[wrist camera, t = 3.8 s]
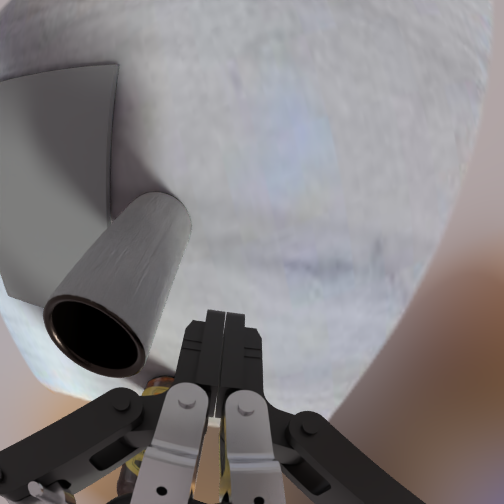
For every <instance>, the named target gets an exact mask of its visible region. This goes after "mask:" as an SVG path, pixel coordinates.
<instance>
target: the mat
mask: <svg viewBox="0 0 504 504" xmlns="http://www.w3.org/2000/svg"><path fill="white" fill-rule="evenodd" d="M118 69H119V65H116V64H111V65H96V66H85V67H76V68H67V69H60V70H54V71H47V72H42V73H36V74H31V75H26V76H22V77H17V78H13V79H9V80H5V81H1V82H0V273H1V276H2V280H3V283H4V286H5V288H6V291H7V294H8V296H10V297H13V298H16V299H19V300H22V301H24V302H27V303H30V304H33V305H36V306H39V307H43V308H44V306H45V304H46V302H47V301H48V299H49V298H50V296H51V295H52V294H53V292H54V291H55V290H56V288H57V287H58V286H59V285H60V283H61V282H62V281H63V279H64V278H65V277H66V276H67V274H68V273H69V272H70V271H71V269H72V268H73V267H74V266H75V265H76V263H77V262H78V261H79V260H80V258H81V257H82V256H83V255H84V254H85V253H86V251H87V250H88V249H89V248H90V247H91V246H92V244H93V243H94V242H95V241H96V240H97V239H98V238H99V237H100V235H101V234H102V233H103V232H104V231H105V230H106V229H107V228H108V227H109V226H110V224H111V218H110V154H111V135H112V121H113V110H114V100H115V91H116V83H117V76H118Z"/></svg>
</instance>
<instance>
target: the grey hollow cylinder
mask: <svg viewBox="0 0 504 504" xmlns="http://www.w3.org/2000/svg"><path fill="white" fill-rule="evenodd" d="M191 229H192V225H191V219H190V216H189V214H188V212H187V210H186V208H185V207H184V206H183V205H182V203H181V202H180V201H178V200H177V199H176V198H174V197H172V196H171V195H168V194H165V193H161V192H149V193H145V194H143V195H141V196H139V197H138V198H136V199H135V200H134V201H133V202H132V203H130V205H129V206H128V207H127V208H126V209H125V210H124V211H123V212H122V213H121V214H120V215H119V216H118V217H117V218H116V219H115V220H114V221H113V222H112V223H111V224H110V226H109V227H108V228H107V229H106V230H105V231H104V232H103V233H102V234H101V235H100V237H99V238H98V239H97V240H96V241H95V242H94V243H93V244H92V246H91V247H90V248H89V249H88V250H87V251H86V253H85V254H84V255H83V256H82V257H81V258H80V260H79V261H78V262H77V263H76V265H75V266H74V267H73V268H72V269H71V271H70V272H69V273H68V274H67V276H66V277H65V278H64V279H63V281H62V282H61V283H60V285H59V286H58V287H57V288H56V290H55V291H54V292H53V294H52V295H51V296H50V298H49V299H48V301H47V302H46V304H45V306H44V311H43V319H44V324H45V327H46V330H47V332H48V334H49V336H50V337H51V339H52V341H53V342H54V343H55V345H56V346H57V347H58V348H59V349H60V350H61V351H62V352H63V353H64V354H65V355H66V356H67V357H68V358H70V359H71V360H72V361H74V362H75V363H76V364H78V365H80V366H81V367H83V368H85V369H87V370H89V371H91V372H94V373H96V374H99V375H103V376H107V377H114V378H124V377H129V376H132V375H135V374H137V373H138V372H140V371H141V370H142V369H143V367H144V366H145V363H146V360H147V357H148V354H149V351H150V348H151V345H152V342H153V339H154V336H155V333H156V330H157V327H158V324H159V321H160V318H161V315H162V312H163V309H164V306H165V304H166V301H167V298H168V295H169V292H170V289H171V287H172V284H173V281H174V279H175V276H176V273H177V270H178V268H179V265H180V262H181V260H182V257H183V255H184V252H185V249H186V247H187V244H188V242H189V239H190V235H191Z"/></svg>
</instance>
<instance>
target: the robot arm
mask: <svg viewBox="0 0 504 504" xmlns="http://www.w3.org/2000/svg"><path fill="white" fill-rule="evenodd" d="M224 322H225V327H224ZM223 331H224V334H223ZM216 397H217V402H216ZM215 403H216V413H215V417H216V418H221V422H220V432H219V466H220V483H219V500H220V503H218V504H286V501H285V494H284V487H283V479H282V472H283V473H284V474H285V475H286V476H287V477H288V478H289V479H290V480H291V481H292V482H293V483H294V484H295V485H296V486H297V487H298V488H299V489H300V490H301V491H302V492H303V493H304V494H305V495H306V496H307V497H308V498H309V499H310V500H312V501H313V502H314V503H315V504H426V503H424V502H423V501H422V500H420V499H419V498H418V497H416V496H415V495H414V494H412V493H411V492H410V491H409V490H407V489H406V488H405V487H404V486H402V485H401V484H400V483H398V482H397V481H396V480H395V479H393V478H392V477H391V476H390V475H389V474H387V473H386V472H385V471H384V470H382V469H381V468H380V467H379V466H378V465H376V464H375V463H374V462H373V461H372V460H371V459H369V458H368V457H367V456H366V455H365V454H364V453H362V452H361V451H360V450H359V449H358V448H357V447H355V446H354V445H353V444H352V443H351V442H350V441H349V440H348V439H346V438H345V437H344V436H343V435H342V434H341V433H340V432H339V431H338V430H336V429H335V428H334V427H333V426H332V425H331V424H330V423H329V422H328V421H327V420H326V419H325V418H324V417H322V416H321V415H320V414H318V413H315V412H312V411H303V412H300V413H297V414H296V415H293V414H290V413H287V412H284V411H281V410H278V409H276V408H275V407H273V406H272V405H271V404H270V403H269V402H268V401H267V400H266V398H265V396H264V392H263V365H262V338H261V337H260V335H259V333H258V331H257V329H255V328H247V327H245V314H238V313H230V312H227V315H226V321H225V312H222V311H215V310H208V311H207V316H206V322H202V321H195V320H193V321H192V322H191V323H190V324H189V325H188V327H187V328H186V330H185V334H184V338H183V342H182V347H181V351H180V356H179V360H178V365H177V369H176V374H175V378H174V382H173V384H172V385H171V387H170V388H169V389H168V390H166V391H165V392H163V393H160V394H157V395H148V396H139V395H138V394H137V393H136V392H134V391H133V390H131V389H128V388H123V387H119V388H114V389H112V390H110V391H108V392H106V393H105V394H103V395H101V396H100V397H98V398H96V399H95V400H93V401H91V402H90V403H88V404H86V405H84V406H83V407H81V408H79V409H77V410H76V411H74V412H72V413H71V414H69V415H67V416H65V417H63V418H62V419H60V420H58V421H56V422H54V423H53V424H51V425H49V426H47V427H45V428H44V429H42V430H40V431H38V432H36V433H34V434H32V435H31V436H29V437H27V438H25V439H23V440H21V441H19V442H17V443H15V444H14V445H12V446H10V447H8V448H6V449H4V450H2V451H0V495H1V496H2V497H4V498H5V499H6V500H7V501H8V503H9V504H76V500H75V498H74V494H75V493H77V492H79V491H81V490H83V489H84V488H86V487H87V486H89V485H91V484H93V483H94V482H96V481H97V480H99V479H101V478H102V477H104V476H106V475H107V474H109V473H110V472H112V471H113V470H115V469H116V468H118V467H120V466H121V465H123V464H124V463H126V462H127V461H129V460H130V459H131V458H133V457H134V456H136V455H137V454H139V453H140V452H142V451H143V450H145V449H146V448H147V449H146V451H145V453H144V456H143V460H142V463H141V467H140V470H139V474H138V477H137V481H136V484H135V488H134V491H133V492H130V493H126V494H123V495H120V496H118V497H116V498H114V499H113V500H111V501H110V502H108V503H107V504H206V503H203V502H200V501H197V500H194V499H193V496H194V491H195V485H196V478H197V472H198V467H199V462H200V457H201V451H202V446H203V441H204V436H205V434H206V432H207V426H208V418H209V417H213V416H214V410H215ZM281 471H282V472H281Z"/></svg>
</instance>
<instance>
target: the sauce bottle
mask: <svg viewBox="0 0 504 504" xmlns="http://www.w3.org/2000/svg"><path fill="white" fill-rule="evenodd" d="M173 382H174V378H171V377H167V376H162V377H159V378H155V379H152V380H150V381H149V382H148V384H147V386H146V388H145V390H144V391H143V393H142V396H148V395H157V394H160V393H163V392H165V391H166V390H168V389H169V388H170V387H171V385H172V384H173ZM146 449H147V448H146ZM146 449H145V450H143V451H142V452H140V453H139V454H137V455H136V456H134V457H133V458H131V459H130V460H129V461H127V462H126V463H124V464H123V465H122V468H121V472H120V476H119V480H118V482H117V494H118V496H120V495H123V494H126V493H130V492H133V491H134V488H135V484H136V481H137V477H138V474H139V470H140V467H141V463H142V460H143V456H144V453H145V451H146Z"/></svg>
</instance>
